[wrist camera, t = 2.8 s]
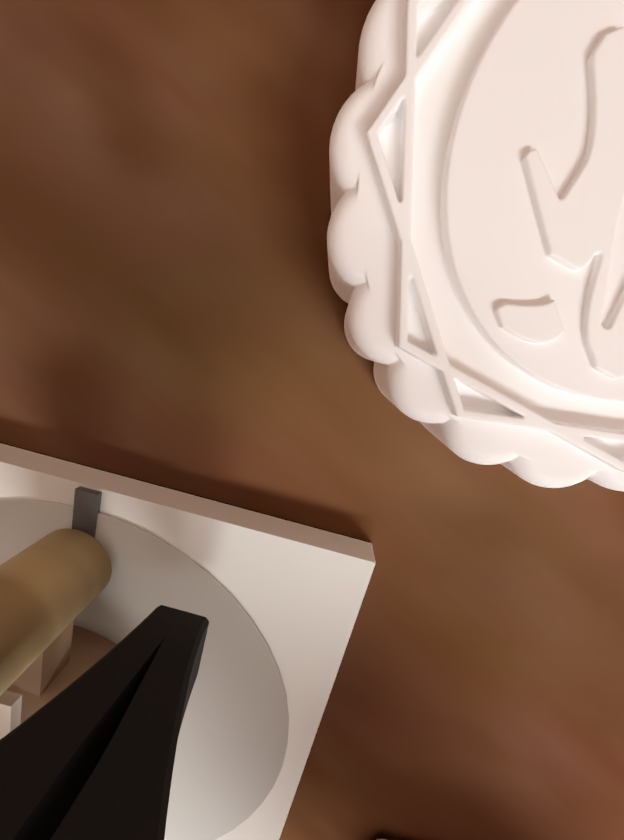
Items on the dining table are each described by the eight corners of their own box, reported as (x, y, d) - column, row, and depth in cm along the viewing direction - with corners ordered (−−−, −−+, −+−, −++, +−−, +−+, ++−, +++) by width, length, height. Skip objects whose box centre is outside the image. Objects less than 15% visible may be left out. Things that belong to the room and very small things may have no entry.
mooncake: (257, 336, 10) (213, 327, 6) (491, -161, 7) (649, -673, 3) (588, 516, 10) (722, 604, 7) (925, 118, 8) (1442, -84, 4)
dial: (154, 814, 12) (61, 1054, 8) (-42, 759, 12) (-234, 968, 8) (205, 562, 10) (108, 724, 5) (-44, 494, 10) (-329, 603, 6)
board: (371, 543, 11) (376, 567, 9) (259, 874, 15) (252, 920, 14) (-140, 405, 11) (-198, 412, 10) (-111, 770, 15) (-149, 806, 14)
